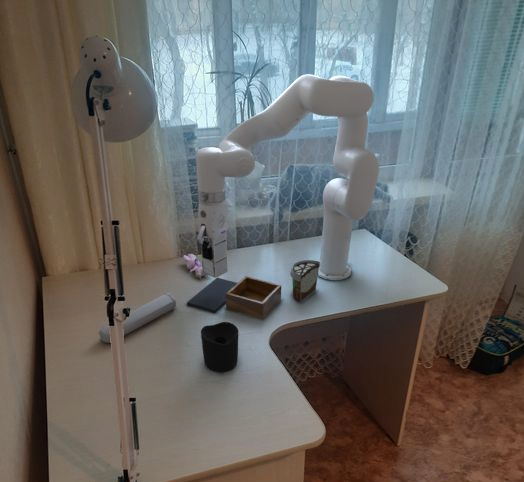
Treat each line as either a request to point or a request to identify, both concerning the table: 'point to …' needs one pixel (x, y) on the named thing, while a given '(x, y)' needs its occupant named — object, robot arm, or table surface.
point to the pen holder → (220, 346)
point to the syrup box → (217, 256)
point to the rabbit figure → (194, 265)
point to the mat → (212, 295)
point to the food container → (304, 278)
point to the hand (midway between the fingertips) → (214, 253)
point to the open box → (253, 297)
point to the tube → (143, 315)
